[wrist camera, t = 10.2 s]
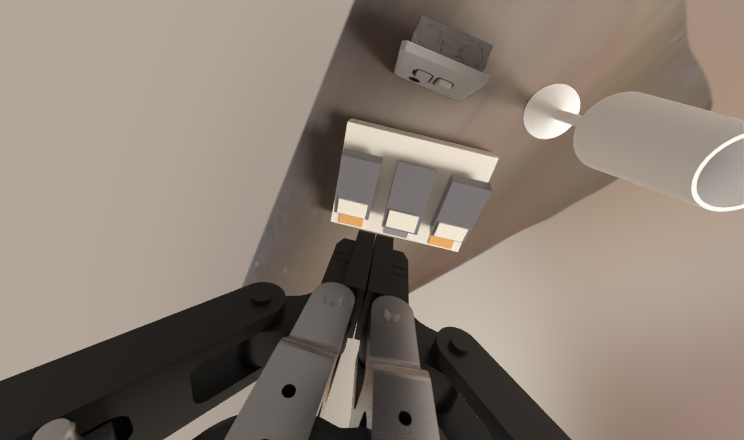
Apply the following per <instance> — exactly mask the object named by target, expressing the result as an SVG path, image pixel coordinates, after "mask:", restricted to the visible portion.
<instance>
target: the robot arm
mask: <svg viewBox="0 0 744 440" xmlns="http://www.w3.org/2000/svg"><path fill="white" fill-rule="evenodd" d="M374 240H375V243H374ZM393 240H394V238H392V237H387V236H383V235H379V234H377V235H376V239H375V233H370V232H366V231H362V230H359V232H358V236H357V239H356V241H354V240H350V239H346V238H344V239H342V240H341V241H340V242H338V243H337V244H336V247H335V249H334V252H333V255H332V257H331V260H330V262H329V265H328V267H327V270H326V273H325V275H324V278H323V280H322V283H321V285H319V286H317V287H316V288H315V289H314V290H313V292H312V293H310V294H307V295H302V296H285V293H284V291H283V290H282V289H281V288H280V287H279V286H277V285H275V284H273V283H268V282H258V283H253V284H250V285H248V286H245V287H243V288H240V289H237V290H235V291H233V292H230V293H227V294H225V295H222V296H219V297H217V298H214V299H212V300H209V301H206V302H204V303H201V304H199V305H196V306H193V307H191V308H188V309H186V310H183V311H181V312H178V313H175V314H173V315H170V316H168V317H165V318H162V319H160V320H157V321H155V322H152V323H149V324H147V325H144V326H142V327H139V328H136V329H134V330H131V331H129V332H126V333H124V334H121V335H118V336H116V337H113V338H111V339H108V340H105V341H103V342H100V343H98V344H95V345H93V346H90V347H87V348H85V349H83V350H80V351H77V352H75V353H72V354H69V355H67V356H64V357H62V358H59V359H57V360H54V361H51V362H49V363H46V364H43V365H41V366H38V367H36V368H33V369H31V370H28V371H25V372H23V373H20V374H17V375H15V376H13V377H10V378H7V379H5V380H2V381H0V440H163V439H165V438H166V437H168V436H170V435H171V434H173V433H174V432H176V431H177V430H179V429H181V428H182V427H184V426H185V425H187V424H189V423H190V422H192V421H193V420H195V419H196V418H198V417H199V416H201V415H203V414H204V413H206V412H207V411H209V410H211V409H212V408H214V407H215V406H217V405H219V404H220V403H222V402H223V401H225V400H226V399H228V398H230V397H231V396H233V395H234V394H236V393H237V392H239V391H241V390H242V389H244V388H245V387H247V386H249V385H250V384H252V383H253V382H255V381H256V380H257V382H256V384H255V386H254V387H253V389H252V391H251V393H250V395H249V396H248V398H247V400H246V402H245V403H244V405H243V407H242V409H241V411H240V412H239V414H238V415H236V416H233V417H230V418H228V419H225V420H223V421H221V422H219V423H217V424H215V425H213V426H212V427H210V428H208V429H207V430H205V431H204V432H202V433H201V434H199V435H198V436H197V437H195V438H194V439H192V440H571V439H570V438H569V437H568V436H567V435H566V433H564V431H563V430H562V429H561V428H560V427H559V426H558V425H557V424H556V423H555V422H554V421H553V420H552V419H551V418H550V417H549V416H548V415H547V414H546V413H545V412H544V411H543V410H542V409H541V408H540V406H539V405H538V404H537V403H536V402H535V401H534V400H533V399H532V398H531V397H530V396H529V395H528V394H527V393H526V392H525V391H524V390H523V389H522V388H521V387H520V386H519V385H518V384H517V383H516V382H515V381H514V380H513V378H512V377H510V375H509V374H508V373H507V372H506V371H505V370H504V369H503V368H502V367H501V366H500V365H499V364H498V363H497V362H496V361H495V360H494V359H493V358H492V357H491V356H490V355H489V354H488V353H487V351H486V350H484V348H483V347H482V346H481V345H480V344H479V343H478V342H477V341H476V340H475V339H474V338H473V337H472V336H471V335H470V334H468V333H467V332H465V331H463V330H461V329H458V328H455V327H445V328H442V329H441V330H440V331H439V332H436V331H434V330H432V329H430V328H428V327H426V326H425V325H423V324H422V323H420V322H419V321H418V320H417V319H416V318H415V317H414V315H413V311H412V309H411V307H410V306H409V303H408V302H409V300H408V260H407V258H406V256H405V255H404V253H403V252H400V251H396V250H393ZM373 246H374V247H373ZM357 320H358V322H357ZM356 323H357V327H356ZM355 327H356V332H355V338H354V339H357V340H360V346H359V351H358V354H357V358H356V363H355V374H354V386H353V398H352V409H351V419H350V425H349V428H339V427H337V426H335V425H333V424H331V423H330V422H328V421H326V420H324V419H323V418H322V416H323V413H324V410H325V406H326V403H327V400H328V396H329V393H330V390H331V387H332V384H333V381H334V377H335V374H336V371H337V368H338V364H339V362H340V358H341V354H342V353H343V352H344V349H345V347H346V343H347V339H348V338H353V334H354V331H355ZM462 397H463V398H462ZM469 406H470V407H469ZM473 411H474V412H473ZM477 416H478V417H477ZM484 425H485V426H484Z"/></svg>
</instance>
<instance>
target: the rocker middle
mask: <svg viewBox="0 0 744 440" xmlns="http://www.w3.org/2000/svg"><path fill="white" fill-rule="evenodd" d="M436 173H437V171H436V170H435V169H434V168H429V167H425V166H421V165H417V164H413V163H409V162H405V161H401V160H398V162H397V166H396V170H395V174H394V178H393V182H392V186H391V189H390V193H389V197H388V201H387V205H386V209H385V213H384V216H383V220H382V227H385V228H389V229H394V230H398V231H402V232H406V233H410V234H414V235H417V233H418V230H419V227H420V224H421V221H422V218H423V214H424V211H425V208H426V205H427V202H428V198H429V195H430V192H431V189H432V186H433V182H434V179H435V176H436Z"/></svg>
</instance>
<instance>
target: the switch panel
mask: <svg viewBox="0 0 744 440" xmlns="http://www.w3.org/2000/svg"><path fill="white" fill-rule="evenodd" d="M345 148H347V149H351V150H355V151H359V152H364V153H368V154H372V155H376V156H380V157H383V160H382V164H381V169H380V173H379V177H378V181H377V185H376V190H375V194H374V198H373V202H372V206H371V210H370V215H369V219H368V220H365V219H361V218H357V217H353V216H349V215H344V214H340V213H336V212H334V207H335V200H334V206H333V212H332V218H331V222H336V223H340V224H344V225H348V226H352V227H356V228H361V229H365V230H369V231H373V232H377V233H381V234H386V235H390V236H394V237H398V238H402V239H406V240H411V241H415V242H419V243H423V244H427V245H431V246H436V247H440V248H444V249H448V250H452V251H456V252H458V250H459V248H460V246H461V243H460V242H456V241H452V240H448V239H444V238H440V237H436V236H431V235H430V224H431V222H432V219H433V217H434V215H435V212H436V210H437V207H438V205H439V203H440V200H441V198H442V195H443V193H444V191H445V188H446V186H447V183H448V181H449V179H450V176H451V174H454V175H459V176H463V177H467V178H471V179H475V180H479V181H483V182H487V183H488V182H489V179H490V177H491V175H492V172H493V170H494V168H495V166H496V163H497V161H498V159H499V158H498V157H497V156H496V155H495V154H494V153H493V152H489V151H485V150H481V149H476V148H472V147H468V146H464V145H460V144H456V143H452V142H448V141H444V140H440V139H435V138H431V137H427V136H423V135H419V134H415V133H411V132H407V131H403V130H399V129H394V128H390V127H386V126H382V125H378V124H374V123H370V122H366V121H362V120H358V119H353V118H351V119H350V120H349V121H348V122H347V128H346V134H345V140H344V146H343V151H344V149H345ZM342 153H343V152H342ZM398 160H401V161H405V162H409V163H413V164H417V165H421V166H425V167H429V168H434V169H435V170H436V171H437V173H436V176H435V179H434V182H433V186H432V189H431V192H430V195H429V198H428V202H427V205H426V208H425V211H424V214H423V218H422V221H421V224H420V227H419V230H418V233H417V235H414V234H410V233H406V232H402V231H398V230H394V229H389V228H385V227H382V220H383V216H384V213H385V209H386V205H387V201H388V197H389V193H390V189H391V186H392V182H393V178H394V174H395V170H396V166H397V162H398ZM338 177H339V176H338ZM337 185H338V182H337ZM336 192H337V188H336ZM335 199H336V194H335Z"/></svg>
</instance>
